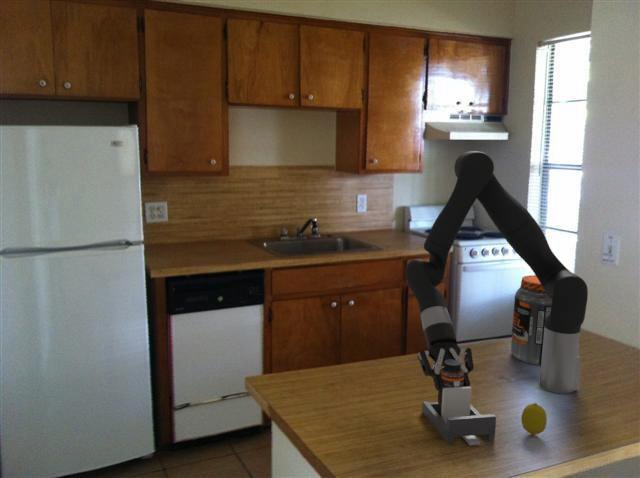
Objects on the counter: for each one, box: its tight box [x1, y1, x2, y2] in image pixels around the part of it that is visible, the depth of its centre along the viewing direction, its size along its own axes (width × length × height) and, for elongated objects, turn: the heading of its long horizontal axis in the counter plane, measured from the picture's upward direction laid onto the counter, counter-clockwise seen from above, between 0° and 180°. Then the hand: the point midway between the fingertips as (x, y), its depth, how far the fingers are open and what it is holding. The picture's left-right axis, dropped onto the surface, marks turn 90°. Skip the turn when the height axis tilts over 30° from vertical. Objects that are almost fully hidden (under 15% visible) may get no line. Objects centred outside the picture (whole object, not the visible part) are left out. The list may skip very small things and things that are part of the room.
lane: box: [421, 400, 497, 446], centre depth 139 cm, size 11×16×6 cm
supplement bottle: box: [437, 359, 464, 407], centre depth 142 cm, size 6×6×11 cm
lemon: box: [521, 402, 547, 437], centre depth 135 cm, size 6×6×8 cm
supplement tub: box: [510, 274, 552, 366], centre depth 184 cm, size 16×16×26 cm
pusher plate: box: [440, 385, 480, 446], centre depth 135 cm, size 7×11×9 cm, turn 11°
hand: (454, 390), depth 141 cm, fingers closed on supplement bottle, 6 cm apart
